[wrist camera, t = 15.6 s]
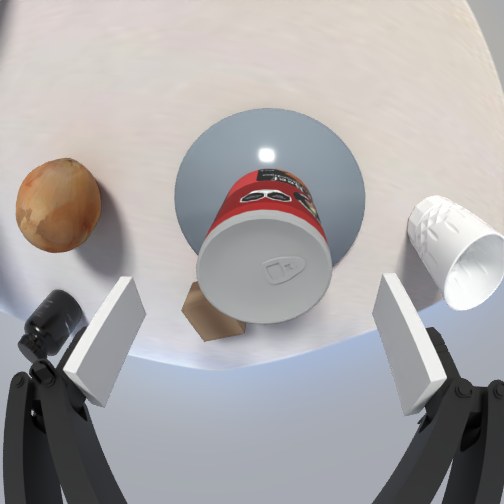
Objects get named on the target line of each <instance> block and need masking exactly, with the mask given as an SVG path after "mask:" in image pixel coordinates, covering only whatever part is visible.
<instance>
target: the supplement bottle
mask: <svg viewBox="0 0 504 504" xmlns="http://www.w3.org/2000/svg"><path fill="white" fill-rule="evenodd" d="M80 319H81V310H80V307H79V305H78V304H77V302H76V301H75V300H74V298H73V297H72V296H71V295H69V294H68V293H67V292H65V291H63V290H54V291H52V292H51V293H50V294H49V295H48V296H47V297H46V299H45V300H44V301H43V302H42V303H41V304H40V305H39V307H38V308H37V309H36V310H35V311H34V313H33V314H32V315H31V316H30V317H29V319H28V320H27V321H26V323H25V327H24V329H25V335H23V336H22V338H21V340H20V341H19V342H18V347H19V349H20V351H21V352H22V354H23V355H24V356H25V357H26V358H27V359H28V360H29V361H30V362H32V363H34V362H35V361H37V360H39V359H42V358H44V359H47V355H48V356H54V355H56V354H57V353H58V352H59V350H60V349H61V347H62V346H63V344H64V343H65V341H66V340H67V338H68V337H69V336H70V334H71V333H72V331H73V330H74V328H75V327H76V325H77V324H78V323H79V321H80Z"/></svg>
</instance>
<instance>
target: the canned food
mask: <svg viewBox="0 0 504 504" xmlns="http://www.w3.org/2000/svg"><path fill="white" fill-rule="evenodd" d="M196 273H197V280H198V283H199V286H200V289H201V291H202V292H203V294H204V296H205V297H206V299H207V300H208V301H209V302H210V303H211V304H212V305H213V306H214V307H215V308H217V309H218V310H219V311H220V312H222V313H224V314H226V315H227V316H229V317H231V318H234V319H237V320H239V321H243V322H247V323H252V324H276V323H281V322H285V321H289V320H291V319H294V318H297V317H299V316H301V315H303V314H304V313H306V312H308V311H309V310H310V309H312V308H313V307H314V306H315V305H316V304H317V303H318V302H319V301H320V300H321V299H322V297H323V296H324V295H325V293H326V291H327V289H328V287H329V285H330V281H331V277H332V258H331V254H330V250H329V246H328V243H327V239H326V236H325V233H324V230H323V227H322V224H321V221H320V219H319V216H318V213H317V210H316V207H315V205H314V202H313V199H312V196H311V194H310V192H309V190H308V188H307V187H306V185H305V184H304V183H303V182H302V181H301V180H300V179H299V178H297V177H296V176H295V175H293V174H291V173H288V172H286V171H283V170H279V169H260V170H256V171H253V172H250V173H248V174H246V175H245V176H243V177H241V178H240V179H239V180H238V181H237V182H236V183H235V184H234V185H233V186H232V188H231V189H230V190H229V192H228V194H227V196H226V198H225V200H224V202H223V204H222V206H221V208H220V209H219V211H218V213H217V215H216V217H215V219H214V221H213V223H212V225H211V227H210V229H209V231H208V233H207V235H206V237H205V240H204V242H203V244H202V246H201V249H200V251H199V256H198V260H197V265H196Z"/></svg>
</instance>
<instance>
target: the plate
mask: <svg viewBox="0 0 504 504" xmlns="http://www.w3.org/2000/svg"><path fill="white" fill-rule="evenodd" d="M260 169H279V170H283V171H286V172H288V173H291V174H293V175H295V176H296V177H297V178H299V179H300V180H301V181H302V182H303V183H304V184H305V185H306V187H307V188H308V190H309V192H310V194H311V196H312V199H313V202H314V205H315V207H316V210H317V213H318V216H319V219H320V221H321V224H322V227H323V230H324V233H325V236H326V239H327V243H328V246H329V250H330V254H331V258H332V266H333V265H334V264H335V263H337V262H338V261H339V260H340V259H341V258H342V257H343V256H344V254H345V253H346V252H347V251H348V250H349V248H350V247H351V245H352V243H353V242H354V240H355V238H356V236H357V234H358V232H359V230H360V227H361V224H362V221H363V216H364V210H365V189H364V182H363V178H362V174H361V171H360V169H359V166H358V164H357V162H356V160H355V158H354V156H353V155H352V153H351V151H350V150H349V148H348V147H347V146H346V145H345V143H344V142H343V141H342V140H341V139H340V138H339V137H338V136H337V135H336V134H335V133H334V132H333V131H332V130H330V129H329V128H328V127H326V126H325V125H323V124H322V123H320V122H319V121H317V120H314V119H312V118H310V117H308V116H306V115H303V114H300V113H297V112H294V111H289V110H283V109H272V108H263V109H254V110H248V111H244V112H240V113H237V114H234V115H232V116H229V117H227V118H225V119H223V120H221V121H219V122H218V123H216V124H214V125H213V126H211V127H210V128H209V129H208V130H206V131H205V132H204V133H203V134H202V135H201V136H200V137H199V138H198V139H197V140H196V141H195V142H194V143H193V145H192V146H191V148H190V149H189V150H188V152H187V153H186V155H185V157H184V159H183V161H182V163H181V165H180V169H179V172H178V175H177V179H176V185H175V209H176V214H177V218H178V222H179V225H180V227H181V230H182V233H183V234H184V236H185V238H186V240H187V242H188V243H189V245H190V246H191V247H192V249H193V250H194V252H195V253H196V254H197V255H198V256H199V251H200V249H201V246H202V244H203V242H204V240H205V237H206V235H207V233H208V231H209V229H210V227H211V225H212V223H213V221H214V219H215V217H216V215H217V213H218V211H219V209H220V208H221V206H222V204H223V202H224V200H225V198H226V196H227V194H228V192H229V190H230V189H231V188H232V186H233V185H234V184H235V183H236V182H237V181H238V180H239V179H240V178H241V177H243V176H245V175H246V174H248V173H250V172H253V171H256V170H260Z"/></svg>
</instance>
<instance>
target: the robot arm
mask: <svg viewBox="0 0 504 504" xmlns="http://www.w3.org/2000/svg"><path fill="white" fill-rule="evenodd" d="M372 314H373V317H374V320H375V323H376V325H377V328H378V331H379V334H380V337H381V340H382V343H383V346H384V348H385V351H386V355H387V358H388V361H389V364H390V367H391V371H392V374H393V377H394V381H395V384H396V387H397V391H398V395H399V398H400V401H401V406H402V410H403V413H404V416H408V415H413V414H417V413H419V412H420V411H421V410H422V409H423V408H424V407H425V409H426V412H427V413H426V414H425V415H424V416H423V417H422V418H421V419H420V420H419V422H418V424H420V423H421V424H420V426H419V428H418V430H417V432H416V434H415V436H414V438H413V439H412V442H411V443H410V445H409V447H408V449H407V451H406V452H405V454H404V456H403V457H402V459H401V461H400V463H399V464H398V466H397V468H396V469H395V471H394V472H393V474H392V475H391V477H390V479H389V480H388V482H387V483H386V485H385V486H384V487H383V489H382V490H381V492H380V493H379V495H378V496H377V497H376V499H375V500H374V501H373V503H372V504H430V503H431V501H432V500H433V498H434V496H435V494H436V492H437V491H438V489H439V487H440V485H441V483H442V481H443V479H444V477H445V475H446V473H447V471H448V468H449V466H450V464H451V462H452V459H453V463H452V467H451V472H450V476H449V479H448V484H447V487H446V491H445V494H444V498H443V501H442V504H500V501H501V496H502V492H503V486H504V382H503V381H501V380H494V381H492V382H491V383H490V384H489V385H488V387H476V386H473V385H472V384H471V383H470V382H469V381H468V380H466V379H463V378H461V377H460V375H459V373H458V370H457V368H456V366H455V364H454V362H453V359H452V357H451V355H450V353H449V352H448V349H447V346H446V345H445V342H444V340H443V338H442V337H441V334H440V333H439V332H438V331H437V330H436V329H435V328H434V327H430V328H425V327H424V325H423V323H422V321H421V319H420V317H419V315H418V313H417V311H416V309H415V307H414V306H413V304H412V302H411V300H410V298H409V296H408V294H407V293H406V291H405V289H404V287H403V285H402V284H401V282H400V280H399V278H398V277H397V275H396V273H388V274H382V278H381V282H380V286H379V290H378V294H377V298H376V302H375V305H374V309H373V313H372ZM145 316H146V312H145V310H144V307H143V305H142V302H141V299H140V296H139V294H138V291H137V288H136V285H135V282H134V280H133V277H120V279H119V280H118V282H117V283H116V285H115V286H114V288H113V289H112V290H111V292H110V293H109V295H108V296H107V298H106V299H105V301H104V302H103V304H102V305H101V307H100V308H99V310H98V312H97V313H96V315H95V316H94V318H93V319H92V321H91V322H90V324H89V326H88V327H83V328H82V329H81V330H80V331H79V332H77V334H76V335H75V337H74V338H73V340H72V342H71V343H70V345H69V348H67V350H66V352H65V353H64V355H63V357H62V359H61V360H60V362H59V364H58V366H57V367H56V369H55V368H54V366H53V365H52V364H51V362H50V361H48V360H47V359H44V358H42V359H39V360H37V361H35V362H34V363H33V365H32V366H31V368H30V371H29V374H30V376H31V377H32V378H30V377H29V376H28V374H27V373H25V372H19V373H17V374H16V375H14V377H13V378H12V381H11V384H10V390H9V396H8V402H7V410H6V418H5V429H4V443H3V478H4V479H3V480H4V494H5V504H63V500H62V494H61V487H62V490H63V492H64V495H65V498H66V500H67V503H68V504H127V502H126V500H125V498H124V496H123V494H122V492H121V490H120V488H119V486H118V485H117V482H116V481H115V478H114V476H113V474H112V472H111V470H110V467H109V465H108V463H107V460H106V458H105V456H104V453H103V451H102V448H101V446H100V443H99V441H98V438H97V435H96V433H95V430H94V427H93V424H92V421H91V418H90V415H89V412H88V408H87V406H86V404H85V403H84V402H85V400H86V398H87V399H88V400H89V401H90V402H91V403H92V404H94V405H97V406H101V407H104V408H105V406H106V403H107V401H108V398H109V396H110V393H111V391H112V388H113V386H114V383H115V381H116V379H117V377H118V374H119V372H120V370H121V367H122V365H123V363H124V361H125V358H126V356H127V354H128V352H129V350H130V347H131V345H132V343H133V341H134V339H135V337H136V335H137V332H138V330H139V328H140V326H141V324H142V322H143V320H144V318H145ZM31 410H33V411H34V414H33V416H32V415H31ZM60 484H61V487H60Z"/></svg>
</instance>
